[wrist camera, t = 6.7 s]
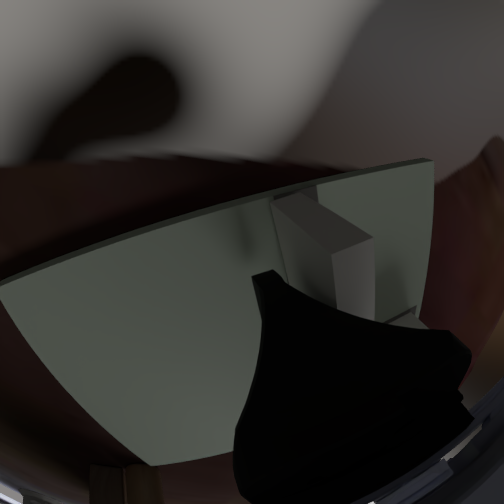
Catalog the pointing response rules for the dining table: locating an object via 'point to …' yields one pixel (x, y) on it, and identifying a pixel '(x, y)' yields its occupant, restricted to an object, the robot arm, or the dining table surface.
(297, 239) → the fence panel
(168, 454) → the board
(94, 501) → the wooden toy
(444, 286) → the dining table surface
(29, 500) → the grey box grater
